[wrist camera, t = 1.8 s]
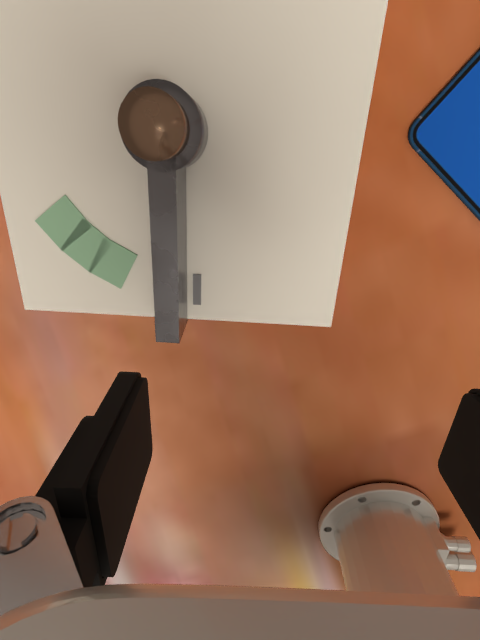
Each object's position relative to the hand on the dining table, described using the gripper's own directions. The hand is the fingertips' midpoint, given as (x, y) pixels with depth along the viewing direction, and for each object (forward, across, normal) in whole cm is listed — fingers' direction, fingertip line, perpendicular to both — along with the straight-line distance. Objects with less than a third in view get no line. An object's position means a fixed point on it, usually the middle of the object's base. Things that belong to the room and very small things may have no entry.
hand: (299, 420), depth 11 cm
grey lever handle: (+17, +7, -3) cm, 18 cm away
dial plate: (+19, +7, -6) cm, 21 cm away
